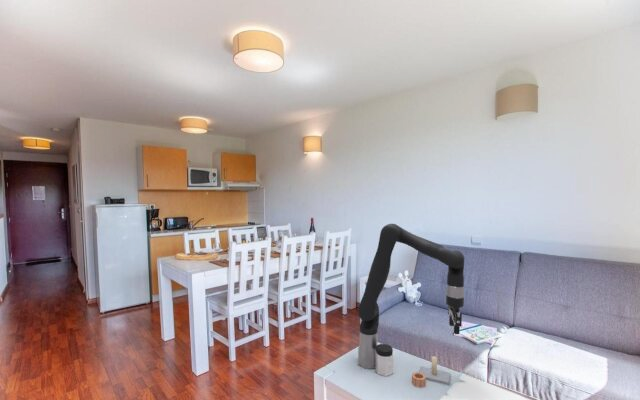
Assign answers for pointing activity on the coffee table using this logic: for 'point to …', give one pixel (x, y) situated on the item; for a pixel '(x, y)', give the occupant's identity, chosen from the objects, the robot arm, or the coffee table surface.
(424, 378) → the ring
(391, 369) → the jar
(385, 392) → the coffee table surface
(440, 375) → the post block
